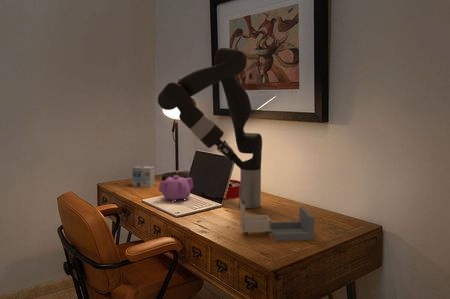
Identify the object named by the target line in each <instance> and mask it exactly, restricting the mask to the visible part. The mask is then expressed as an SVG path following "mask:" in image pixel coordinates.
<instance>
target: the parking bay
mask: <svg viewBox="0 0 450 299" xmlns="http://www.w3.org/2000/svg"><path fill="white" fill-rule="evenodd" d="M269 233H270V234H271V235H272V237H273V239H274V241H275V242H281V241H283V242H284V241H306V240H307V241H309V240H310V241H313V240H314V239H315V217H314V216H313V214H312V213H310V212H309V210H307V208H306V207H304V206H299V220H294V221H293V220H292V221H291V220H290V221H286V220H285V221H271V231H269Z"/></svg>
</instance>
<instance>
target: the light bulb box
mask: <svg viewBox="0 0 450 299" xmlns="http://www.w3.org/2000/svg"><path fill="white" fill-rule="evenodd" d="M131 169H132V187H139V188H140V187H142V188H151V187H154V185H155V183H156V181H155V166H154V165H135V166H134V167H132V168H131Z"/></svg>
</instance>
